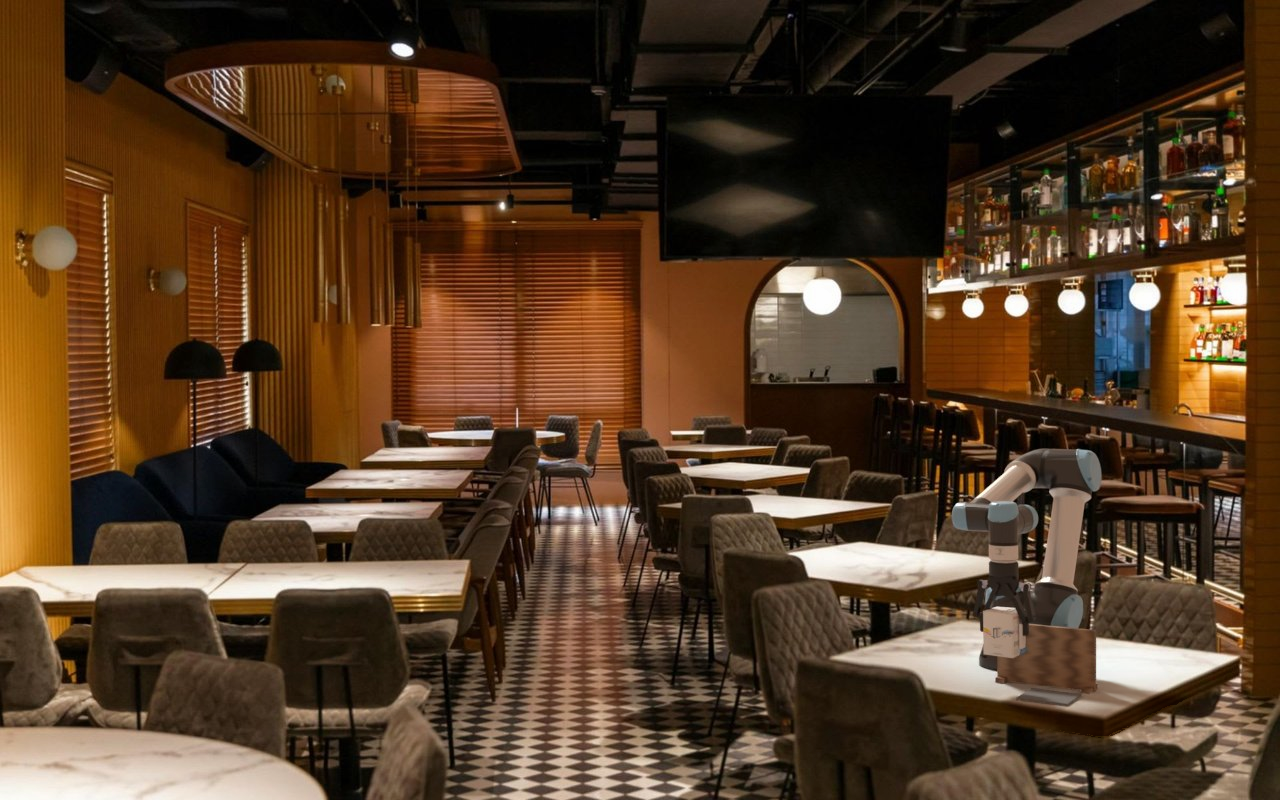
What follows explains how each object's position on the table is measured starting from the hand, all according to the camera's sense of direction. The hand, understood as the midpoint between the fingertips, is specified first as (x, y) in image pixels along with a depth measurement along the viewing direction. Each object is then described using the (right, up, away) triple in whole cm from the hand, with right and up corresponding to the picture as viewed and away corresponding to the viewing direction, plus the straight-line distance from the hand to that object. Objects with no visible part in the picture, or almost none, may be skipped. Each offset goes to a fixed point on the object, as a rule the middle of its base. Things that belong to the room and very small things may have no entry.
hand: (1004, 646), depth 362 cm
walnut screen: (+13, -12, +8) cm, 19 cm away
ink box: (0, -2, 0) cm, 2 cm away
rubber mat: (+10, -12, -7) cm, 17 cm away
